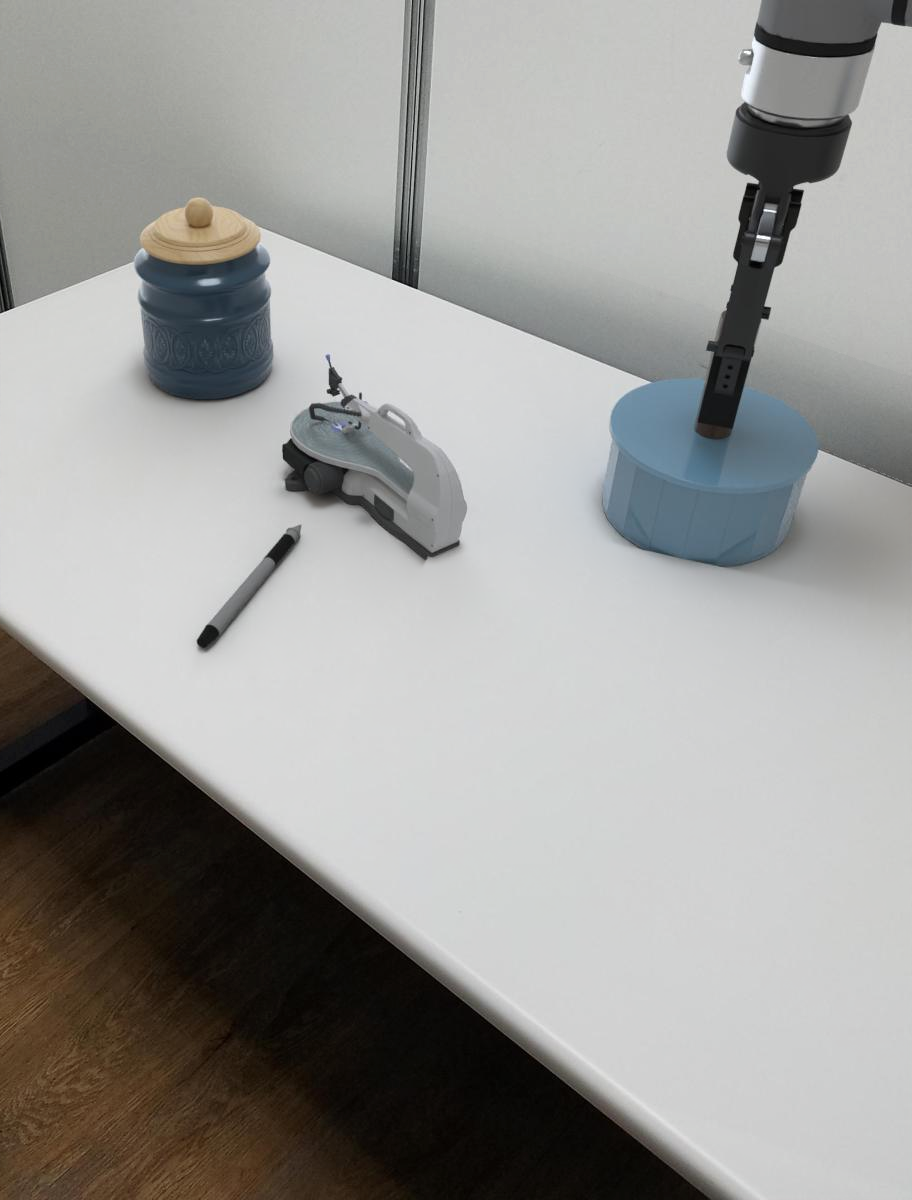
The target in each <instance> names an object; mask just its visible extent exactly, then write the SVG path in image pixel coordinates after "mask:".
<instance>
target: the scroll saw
mask: <svg viewBox="0 0 912 1200" xmlns="http://www.w3.org/2000/svg"><path fill="white" fill-rule="evenodd" d="M325 359H326V361H327V362H328V365H329V368H328V386H329V388H327V389H326V394H327V395H330V396H332V398H333V397H334V398H335V397H336V396H339V395H342V396H343V398H342V399H340V401H339V400H338V401H336V400H334V401H326V402H322V403H321V402H314V403H313V402H312V403H311V404H310V405H309V407H307V408H304V409H302V410H301V411H300V412H298V413H297V414H296V415H295V416H294V417H293V419H292V421H291V422H290V427H289V434H290V438H289V440H288V441H286V442H285V443H283V444H282V447H281V448H282V449H281V452H282V460H283V461H284V462H285V463H286V464H288V465H289V466H290V467H291V468H292V469H293V470H292V471H291V472H290V473H288V474H287V476H286V477H285V478H284V487H285V489H286V490H287V491H290V492H300V491H306V490H310V492H312V493H315V494H317V495H323V494H324V493H327V492H330V491H331V492H333V493H334V494H335V495H336V496H338V498H340V499H341V500H342V501H344V502H345V503H346V504H349V505H360V506H361V507H362V508H364V510H366V511H367V512H368V513H369V515H370V516H371V517H372V518H373V519H374V520H375V521H376V522H377V523H378V524H379V525H380V527H382V528H383V529H384V530H386V531H387V532H388V533H390V534H391V535H393V536H394V537H395V538H397V539H398V540H400V541H401V542H403V543H404V544H406V545H407V546H408V547H409V548H410V549H412V551H414V552H415V553H417V555H419V556H420V557H421V558H422V559H424V560H425V561H427V560H428V558H429V557H430V558H435V557H436V556H438V555H441V554H443V553H445V552H448V551H449V550H452V549H455V548H456V547H459V546H460V543H461V542H460V537H461V535H462V534H461V533H462V529H463V522H465V519H466V515H467V512H468V504H467V501H466V499H465V496H464V491H463V487H462V484H461V480H460V477H459V474H458V472H457V470H456V468H455V466H454V465H453V463H452V462H451V460H450V459H449V457H448V455H447V454H446V453H445V451H444V450H443V449H442V448H440V447H439V446H438V445H437V444H435V443H434V442H432V441H430V440H428V439H427V438H426V437H424V436H423V434H422V433H421V431H420V429H419V427H418V426H417V424H416V422H415V421H414V419H413V418H412V417H410V415H408V414H407V413H406V412H404V410H402V409H400V408H398V407H396V406H395V405H394V404H392V403H389V402H386V403H383V404H382V405H380V407H379V408H377V407H374V406H373V405H371V404H369V402H368V401H365V400H363V393H362V392H359V393H358V396H355V395H354V394H352V393H351V394H349V392H348V390H347V389H346V387H345V386H344V385H343V377H342V376H340V375H339V374H338V372H337V370H336V369H335V367H334V366H332V362H331V354H325ZM389 412H390V413H392V414H394V415H395V416H396V417H398V418H399V419H401V420H402V421H403V422H404V424H403V423H402V422H400V421H398V420H397V419H395V418H394V417H392V416H390V415H388V413H389ZM401 460H402V461H401ZM403 462H404V463H405V464H404V463H403Z"/></svg>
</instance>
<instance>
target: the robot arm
mask: <svg viewBox="0 0 912 1200" xmlns="http://www.w3.org/2000/svg"><path fill="white" fill-rule="evenodd" d="M882 23H883V24H890V25H893V26H898V27H899V26H900V27H909V28H912V0H761V1H760V5H759V11H758V15H757V19H756V22H755V27H754V33H753V38H752V42H751V48H749V49H748V48H747V49H742V50H741V51H740V52H739V54H738V57H737V61H738V63H739V64H740V65H742V66H748V68H746V70H745V73H744V77H743V81H742V85H741V90H740V98H741V99H742V100H743V103H741V105H739V106H738V107H737V108H736V109H735V113H734V118H733V122H732V127H731V131H730V136H729V141H728V145H727V150H726V158H727V161H728V163H729V165H730V166H731V167H732V168H733V169H734V170H736V171H737V172H739V173H741V174H742V175H745V176H750V177H752V178H754V179H755V180H756V181H758V182H757V183H754V182H746V186H745V191H744V194H743V197H742V200H741V204H740V208H739V212H738V218H737V220H738V222H739V228H738V232H737V235H736V236H737V237H736V240H735V245H734V247H733V252H732V253H733V254H732V258H733V259H734V260H735V262H736V263H737V266H736V270H735V274H734V278H733V282H732V284H731V286H730V290H729V291H730V293H729V298H728V301H727V302H726V307H725V310H726V315H725V319H724V323H723V327H722V331H721V335H720V339H719V340H718V341H717V342H715V341H714V340H708V341H707V345H706V350H705V351H707V352H711V353H712V352H714V356H713V360H712V364H711V368H710V372H709V376H708V380H707V384H706V389H705V393H704V397H703V401H702V405H701V409H700V413H699V417H698V421H697V422H698V423H703V424H708V425H714V426H719V427H724V428H730V429H733V426H734V422H735V418H736V414H737V411H738V407H739V403H740V399H741V396H742V392H743V388H744V386H745V385H746V382H745V381H747V378H746V377H748V374H749V370H750V367H749V366H751V363H750V362H752V359H751V358H753V357H754V354H755V347H756V346H755V347H754V343H755V339H756V335H757V332H758V328H759V324H760V320H761V321H762V320H766V321H769V319H770V315H771V311H772V307H771V306H766V301H767V298H768V294H769V290H770V287H771V283H772V279H773V275H774V271H775V268H777V267H779V266H781V264H782V263H784V259H785V258H784V257H785V255H786V252H787V251H786V250H787V247H788V243H789V238H790V237H791V236H790V235H791V232H792V231H793V230H794V229H796V226H797V223H798V220H799V216H800V213H801V212H800V211H801V208H802V200H803V196H804V193H805V190H804V189H800V188H794V187H795V186H798V185H802V184H807V183H808V184H814V183H819V182H822V181H825V180H828V179H830V178H831V177H833V176H834V175H835V174H836V173H837V172H838V170H839V169H840V167H841V164H842V160H843V157H844V154H845V149H846V146H847V143H848V140H849V136H850V133H851V130H852V126H853V121H852V119H851V117H850V115H851V114H852V113H853V112H855V111H856V110H857V109H858V107H859V105H860V101H861V98H862V95H863V91H864V87H865V84H866V80H867V77H868V73H869V69H870V66H871V62H872V59H873V55H874V52H875V49H876V42H877V38H878V32H879V30H880V27H881V25H882ZM748 369H749V370H748ZM747 373H748V374H747ZM744 384H745V385H744Z"/></svg>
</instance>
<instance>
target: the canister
mask: <svg viewBox="0 0 912 1200" xmlns="http://www.w3.org/2000/svg"><path fill="white" fill-rule="evenodd" d="M261 239H262V233H261V229H260V228H259V226H258V225H257V224H256V223H254V222H253V221H252V220H251V219H248V218H246V217H244V216H243V215H241V214H240V213H239V212H237V211H235V210H232V209H230V208H227V207H222V206H215V205H212V204H211V203H210V202H209V201H208V200H207V199H206V198H204V197H194V198H191V199H189V200H188V202H187V203H186V205H185V206H183V207H179V208H176V209H173V210H170V211H167V212H165V213H163V214H161V215H160V216H158V218H157V219H156V220H154V221H152V222H151V223H150V224H147V226H146V227H145V228H143V230H142V231H141V233H140V236H139V242H140V245H141V248H140V249H139V251H137V253H136V255H135V257H134V258H133V268H134V271H135V273H136V275H137V276H138V278H140V286H139V288H138V290H137V302H138V305H139V307H140V316H141V317H140V318H141V326H142V336H143V344H144V345H143V351H142V353H143V363H144V364H145V368H146V369H147V373H148V377H149V379H150V380H151V382H152V383H153V384H154V385H155V386H156V387H158V388H159V389H161V390H162V391H164V392H166V393H169V394H170V395H173V396H176V397H177V396H178V397H181V398H186V399H193V400H216V399H218V400H219V399H225V398H230V397H235V396H238V395H241V394H244V393H246V392H248V391H251V390H253V389H254V388H256V387H258V386H259V385H260V384H262V383H263V382H264V381H265V380H266V379H267V377H268V376H269V375H270V372H271V369H272V364H273V363H272V362H273V358H274V343H273V340H272V330H271V329H272V328H271V327H272V326H271V296H272V288H271V284H270V282H269V281H268V279H267V276H266V272H267V270H268V269H269V267H270V266H271V265H270V264H271V255H270V252H269V250H268V248H267V247H266V246H265V245H264V244H263V243H261V242H260V241H261Z"/></svg>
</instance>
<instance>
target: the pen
mask: <svg viewBox="0 0 912 1200" xmlns="http://www.w3.org/2000/svg"><path fill="white" fill-rule="evenodd" d="M301 530H302V524H298V525H295V526H292V527H288V528H287V529H286V530H285V533H283V534H282V536H281V537H280V538H279V539H278V540H277V542H276V543H275V544H274V545H273V547H272V548H271V549H270V550H269V551H268V553H267V554H266V555H265V556H264V557H263V559H262V560H261V561H260V562H259V564H258V565H257V566H256V567H255V568H254V569H253V571H252V572H251V573H250V574H249V575H248V577H246V579H245V580H244V581H243V582H242V583H241V585H240V586H239V587H238V588H237V589H236V590H235V591H234V593H233V594H232V595H231V596H230V597H229V599H228V600H227V601H226V602H225V603H224V604H223V606H222V607H220V609H219V610H218V611H217V613H216V614H215V615H214V616H213V617H212V618H211V619H210V620H209V622H208V623H207V624H206V625H205V626H204V628H203V630H202V631H201V632H200V634H199V636H198V638H197V639H196V644H197V646H198V647H200V648H202V649H207V648H208V647H209V646H210V645H211V644H212V643H213V642H214V641H215V640H217V639H218V638H219V637H220V636H221V634H222V633H223V631H224V630H225V629H226V628H227V626H228V625H229V624H230V623H231V622H232V620H233V619H234V618H235V617H236V615H237V614H238V613H239V612H240V611H241V609H242V608H243V606H244V605H245V604H246V603H247V602H248V601H249V599H250V598H251V597H252V596H253V595H254V593H255V592H256V591H257V590H258V588H259V587H260V586H261V585H262V583H264V581H265V580H266V578H267V577H268V576H269V575H270V573H271V572H272V571H274V569H275V568H276V567H277V565H278V564H279V563H280V562H281V560H282V559H283V558H284V557H285V556H286V554H287V553H288V552H289V551H290V550H291V549H292V547H293V546H295V544H296V542H297V541H299V540H300V539H301Z"/></svg>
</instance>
